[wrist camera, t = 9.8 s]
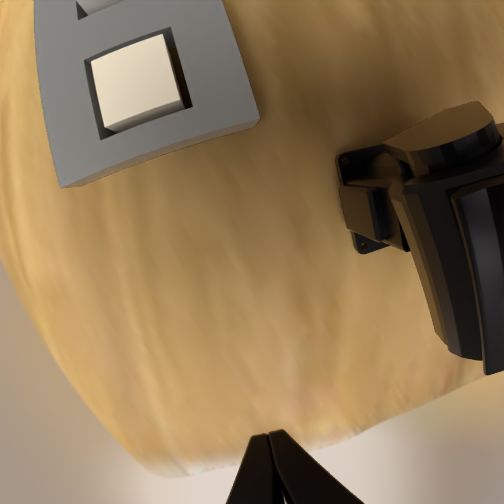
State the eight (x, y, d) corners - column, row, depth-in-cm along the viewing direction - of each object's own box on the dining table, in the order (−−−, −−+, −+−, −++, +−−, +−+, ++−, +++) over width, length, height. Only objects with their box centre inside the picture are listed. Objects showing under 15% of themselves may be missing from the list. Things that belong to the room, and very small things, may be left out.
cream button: (170, 54, 16) (162, 33, 13) (185, 111, 17) (180, 99, 14) (108, 76, 16) (90, 61, 13) (121, 134, 17) (104, 127, 14)
